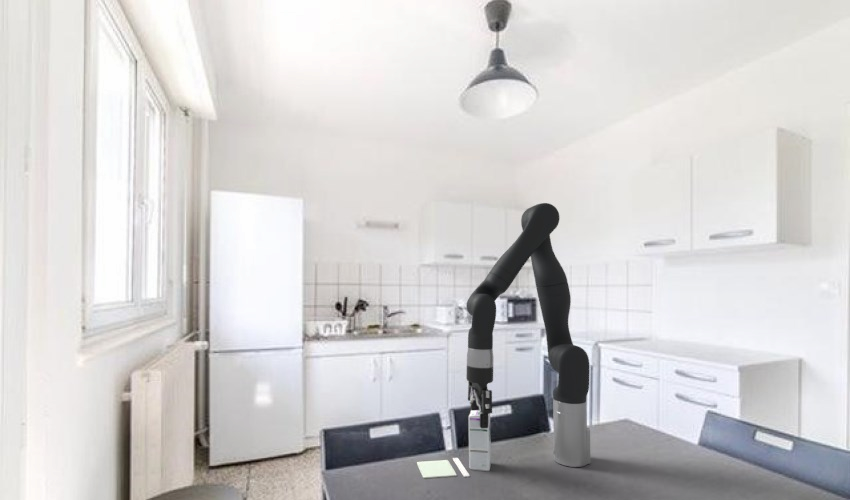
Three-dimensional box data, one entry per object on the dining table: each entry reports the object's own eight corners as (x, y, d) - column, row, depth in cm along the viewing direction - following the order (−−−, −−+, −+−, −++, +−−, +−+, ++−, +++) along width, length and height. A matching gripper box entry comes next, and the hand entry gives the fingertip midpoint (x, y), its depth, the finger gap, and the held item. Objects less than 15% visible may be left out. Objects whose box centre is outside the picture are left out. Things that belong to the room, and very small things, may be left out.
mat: (447, 460, 125) (447, 459, 125) (456, 475, 115) (456, 474, 115) (416, 463, 124) (416, 461, 124) (423, 478, 114) (423, 477, 114)
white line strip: (457, 458, 127) (457, 457, 127) (469, 476, 115) (469, 475, 115) (452, 459, 127) (452, 458, 127) (464, 477, 115) (464, 475, 115)
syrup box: (489, 471, 118) (489, 416, 120) (468, 469, 120) (468, 415, 121) (491, 463, 124) (490, 410, 125) (470, 461, 125) (470, 409, 126)
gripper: (501, 368, 118) (500, 430, 117) (484, 359, 132) (483, 415, 130) (474, 369, 116) (473, 431, 115) (460, 359, 130) (459, 415, 129)
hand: (479, 422), depth 123 cm, fingers open, 8 cm apart
